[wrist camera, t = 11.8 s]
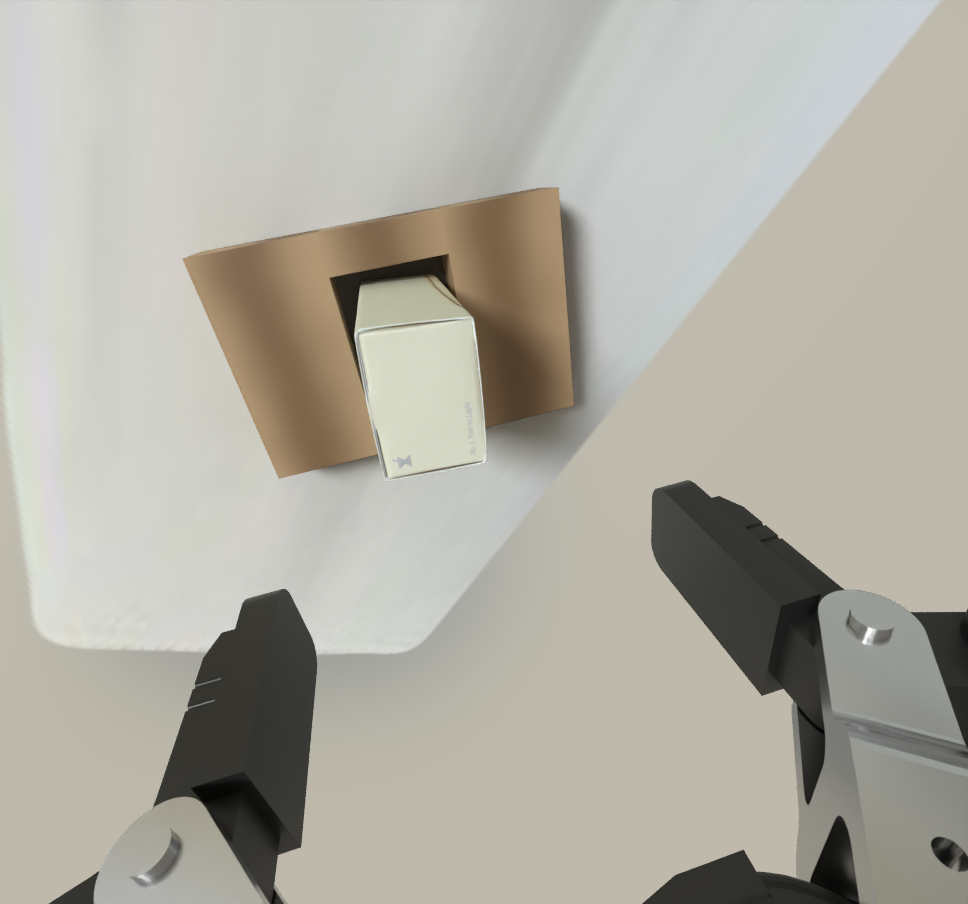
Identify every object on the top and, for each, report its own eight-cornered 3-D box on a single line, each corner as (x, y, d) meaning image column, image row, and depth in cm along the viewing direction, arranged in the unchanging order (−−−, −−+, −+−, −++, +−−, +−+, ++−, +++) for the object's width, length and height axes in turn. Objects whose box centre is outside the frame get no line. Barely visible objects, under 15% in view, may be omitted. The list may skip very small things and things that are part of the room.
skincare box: (446, 374, 31) (492, 468, 20) (374, 384, 30) (383, 488, 19) (433, 268, 28) (480, 314, 17) (353, 276, 27) (351, 331, 16)
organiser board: (539, 187, 27) (558, 187, 24) (556, 388, 33) (574, 405, 30) (200, 251, 25) (182, 258, 22) (285, 454, 31) (279, 478, 28)
